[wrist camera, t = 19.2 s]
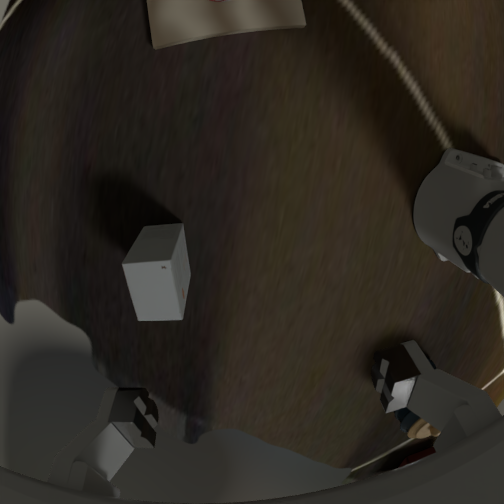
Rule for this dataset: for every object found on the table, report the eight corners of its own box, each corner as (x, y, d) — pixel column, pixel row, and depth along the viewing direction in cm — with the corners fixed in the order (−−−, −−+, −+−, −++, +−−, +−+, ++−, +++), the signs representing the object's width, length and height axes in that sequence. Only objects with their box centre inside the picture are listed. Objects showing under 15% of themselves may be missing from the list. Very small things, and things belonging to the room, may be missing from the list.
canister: (371, 383, 58) (399, 449, 42) (418, 345, 54) (457, 408, 39) (396, 398, 62) (422, 455, 47) (438, 365, 59) (471, 420, 43)
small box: (143, 225, 39) (120, 261, 30) (184, 221, 40) (170, 258, 30) (154, 276, 43) (136, 322, 34) (191, 274, 43) (182, 321, 34)
